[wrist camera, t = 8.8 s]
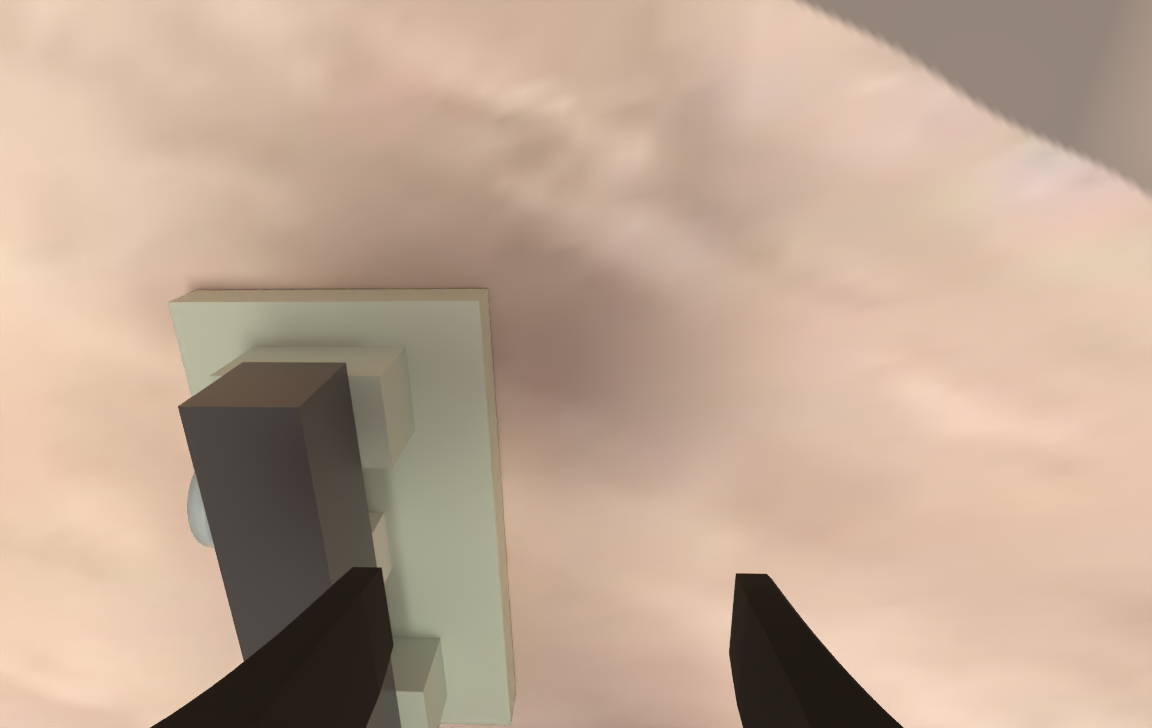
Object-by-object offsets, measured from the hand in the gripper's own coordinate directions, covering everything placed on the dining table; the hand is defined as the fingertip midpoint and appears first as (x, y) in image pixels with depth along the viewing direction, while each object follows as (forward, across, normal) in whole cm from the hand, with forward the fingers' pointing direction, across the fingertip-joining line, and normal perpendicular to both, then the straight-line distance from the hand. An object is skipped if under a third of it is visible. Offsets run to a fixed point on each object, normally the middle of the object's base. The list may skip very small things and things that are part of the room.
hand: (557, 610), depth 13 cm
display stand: (+10, +8, +5) cm, 14 cm away
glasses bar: (+6, +8, +5) cm, 11 cm away
